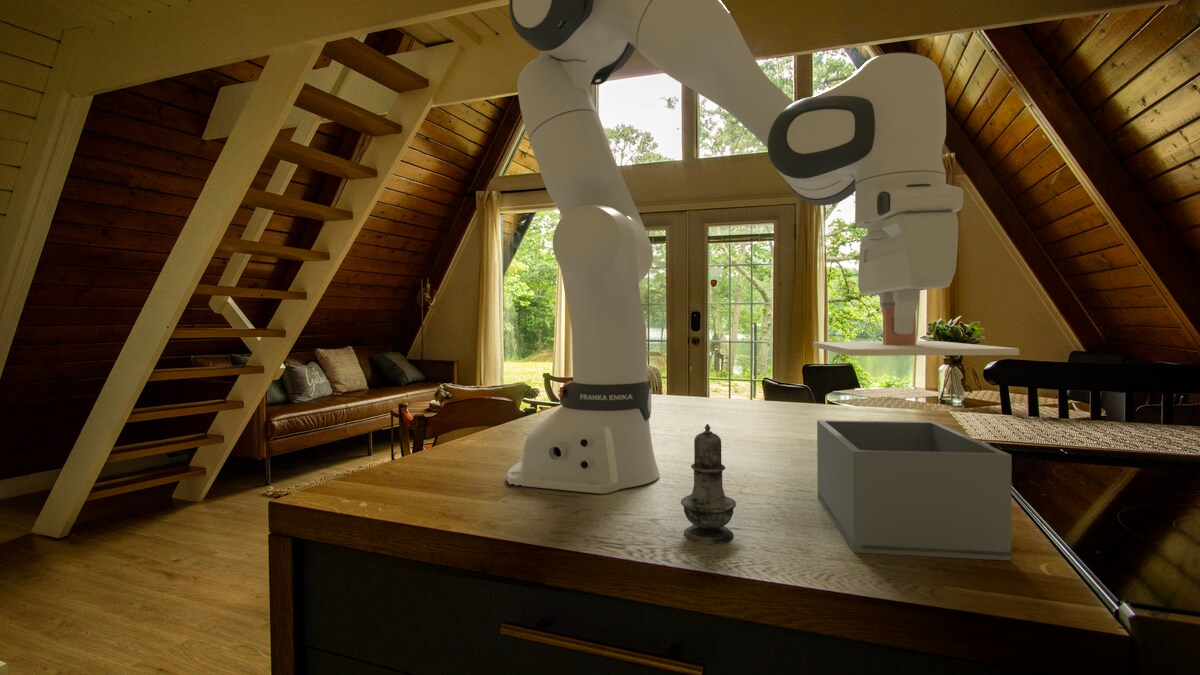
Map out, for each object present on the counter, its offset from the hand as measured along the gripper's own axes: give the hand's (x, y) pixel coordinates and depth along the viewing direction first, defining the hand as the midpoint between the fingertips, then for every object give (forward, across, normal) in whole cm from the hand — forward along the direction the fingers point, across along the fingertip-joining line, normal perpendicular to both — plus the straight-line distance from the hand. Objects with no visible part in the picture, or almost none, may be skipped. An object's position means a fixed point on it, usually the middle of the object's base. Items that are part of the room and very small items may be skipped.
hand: (898, 334), depth 64 cm
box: (+21, 0, 0) cm, 21 cm away
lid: (+2, 0, 0) cm, 2 cm away
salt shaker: (+22, +6, -21) cm, 31 cm away
